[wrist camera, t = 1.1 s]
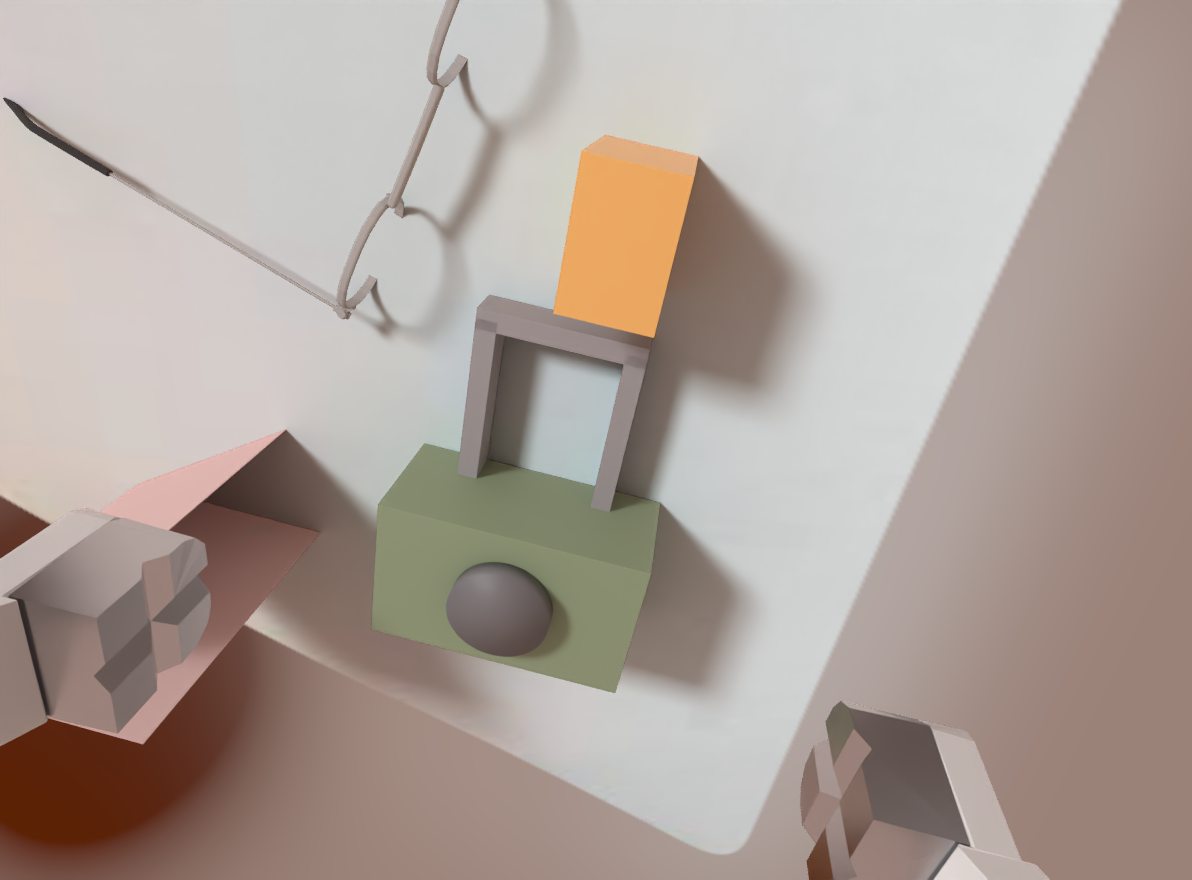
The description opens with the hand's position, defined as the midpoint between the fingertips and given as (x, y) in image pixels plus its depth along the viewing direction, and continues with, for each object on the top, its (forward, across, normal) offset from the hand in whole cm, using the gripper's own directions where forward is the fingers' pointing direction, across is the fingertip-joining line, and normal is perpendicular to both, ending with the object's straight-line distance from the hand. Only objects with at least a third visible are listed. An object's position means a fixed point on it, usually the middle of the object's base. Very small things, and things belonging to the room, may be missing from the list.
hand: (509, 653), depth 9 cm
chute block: (+26, +1, -1) cm, 26 cm away
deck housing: (+26, +3, +13) cm, 29 cm away
